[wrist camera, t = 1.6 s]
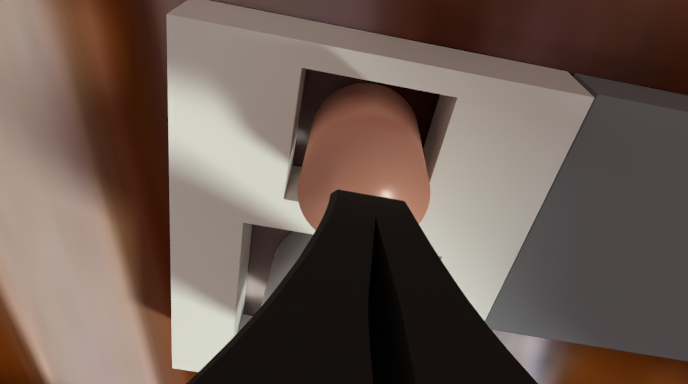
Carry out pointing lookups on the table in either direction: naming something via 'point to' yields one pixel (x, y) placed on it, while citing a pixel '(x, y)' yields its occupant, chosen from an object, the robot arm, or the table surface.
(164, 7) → the table surface
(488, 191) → the white plate with holes
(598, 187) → the pad
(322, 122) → the peach rounded piece
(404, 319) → the robot arm
